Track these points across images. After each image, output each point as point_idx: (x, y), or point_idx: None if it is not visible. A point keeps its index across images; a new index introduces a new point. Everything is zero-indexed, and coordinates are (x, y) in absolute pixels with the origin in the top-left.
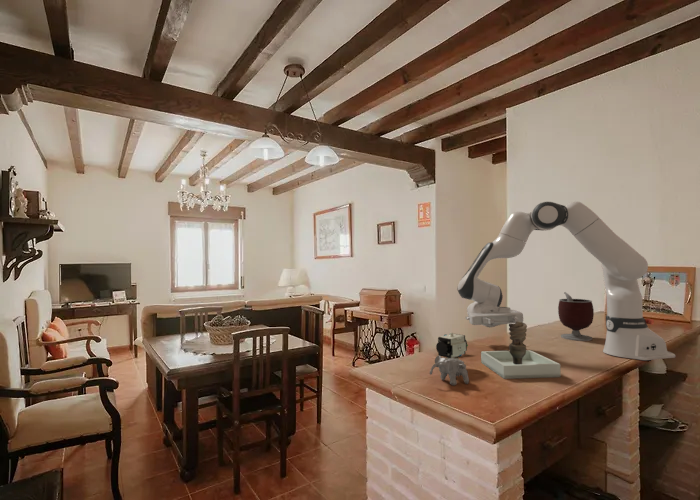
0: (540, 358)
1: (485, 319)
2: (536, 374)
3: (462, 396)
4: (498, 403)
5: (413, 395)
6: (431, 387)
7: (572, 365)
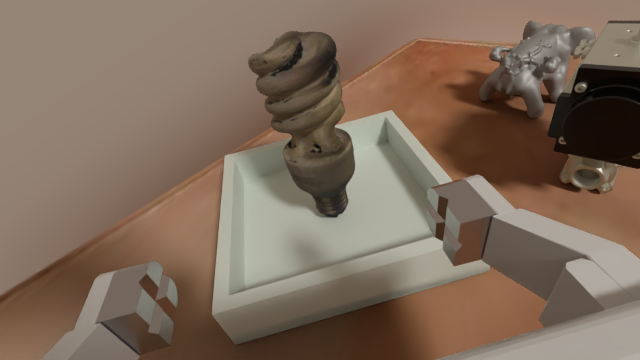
0: (235, 221)
1: (560, 237)
2: None
3: (475, 65)
4: (410, 67)
5: None
6: None
7: None
